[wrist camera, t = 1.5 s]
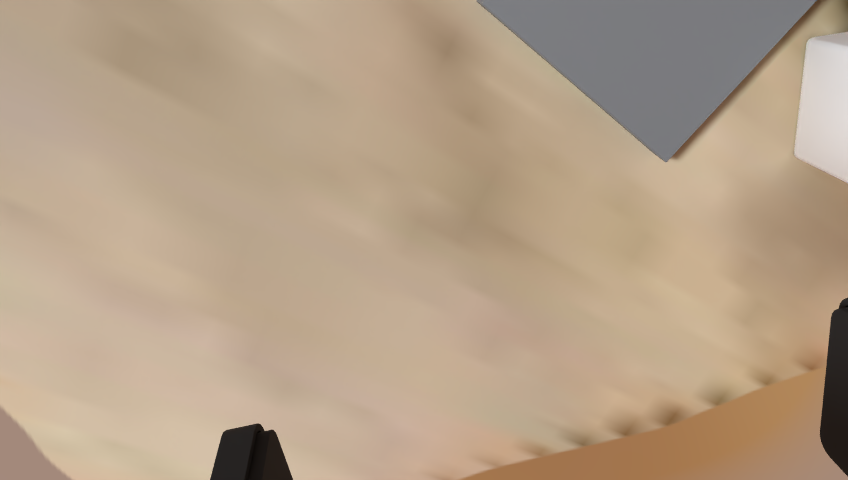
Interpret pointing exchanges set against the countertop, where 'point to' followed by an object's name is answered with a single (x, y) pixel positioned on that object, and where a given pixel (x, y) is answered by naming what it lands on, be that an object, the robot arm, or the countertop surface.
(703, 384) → the countertop surface
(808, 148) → the medicine bottle
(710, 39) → the serving board
